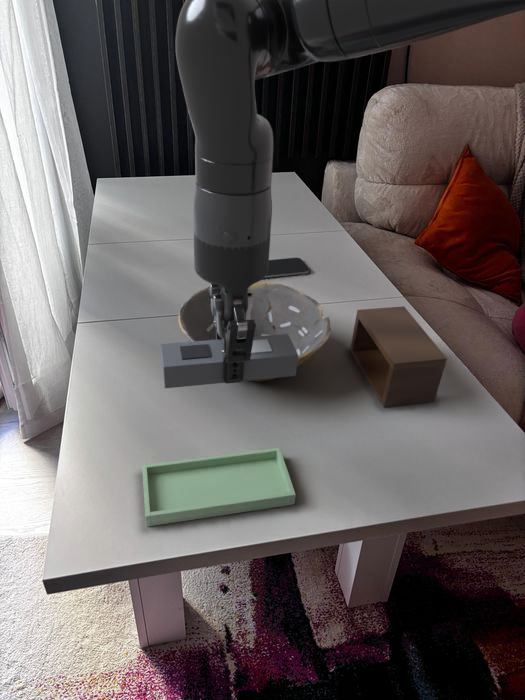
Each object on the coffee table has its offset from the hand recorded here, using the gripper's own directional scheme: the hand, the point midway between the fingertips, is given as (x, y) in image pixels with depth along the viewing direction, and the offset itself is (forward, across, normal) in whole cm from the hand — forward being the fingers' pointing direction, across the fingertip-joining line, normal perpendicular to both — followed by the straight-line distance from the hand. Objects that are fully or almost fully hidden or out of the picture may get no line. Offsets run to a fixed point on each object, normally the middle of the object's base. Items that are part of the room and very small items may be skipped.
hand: (229, 366), depth 64 cm
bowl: (+20, +26, -9) cm, 34 cm away
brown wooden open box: (+20, +19, -32) cm, 42 cm away
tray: (+20, -1, +1) cm, 20 cm away
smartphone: (+20, +60, -21) cm, 67 cm away
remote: (0, 0, 0) cm, 0 cm away
